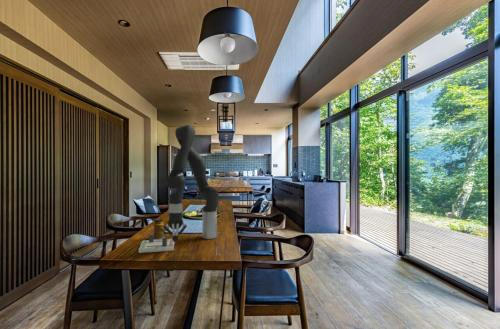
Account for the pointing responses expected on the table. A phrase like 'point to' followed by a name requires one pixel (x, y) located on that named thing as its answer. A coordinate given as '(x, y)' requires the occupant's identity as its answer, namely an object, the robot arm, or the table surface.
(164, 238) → the block
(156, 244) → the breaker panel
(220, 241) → the table surface
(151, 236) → the block
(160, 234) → the condiment
